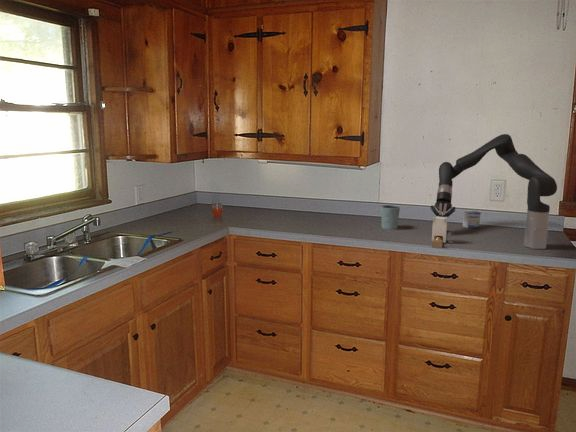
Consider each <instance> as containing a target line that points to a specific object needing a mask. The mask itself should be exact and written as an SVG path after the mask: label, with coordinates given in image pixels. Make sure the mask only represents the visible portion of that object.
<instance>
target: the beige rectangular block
mask: <svg viewBox="0 0 576 432" xmlns="http://www.w3.org/2000/svg"><path fill="white" fill-rule="evenodd" d="M448 218H449V217H439V216H436V215H435V216H433V218H432V229H431V230H432V231H431V241H432V240H436V236H443V238H442V240H443V241H442V244H443V243H444V244H445V243H446V241H447V229H448Z"/></svg>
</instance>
